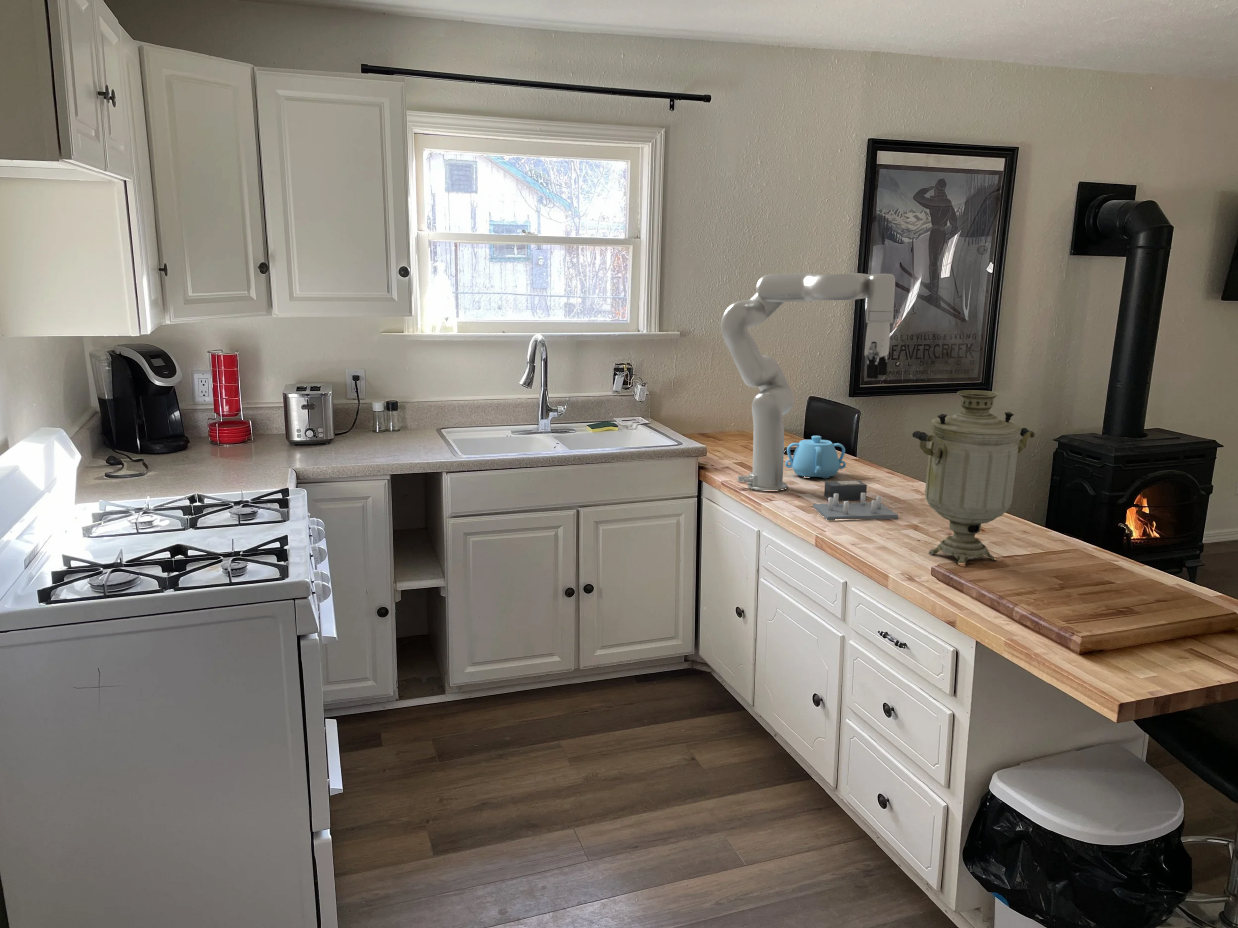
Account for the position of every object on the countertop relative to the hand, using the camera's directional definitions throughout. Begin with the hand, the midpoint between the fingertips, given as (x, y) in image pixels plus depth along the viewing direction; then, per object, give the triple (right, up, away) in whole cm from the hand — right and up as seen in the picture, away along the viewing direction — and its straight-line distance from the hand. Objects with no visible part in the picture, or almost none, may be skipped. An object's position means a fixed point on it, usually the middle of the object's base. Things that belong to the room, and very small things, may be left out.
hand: (876, 376), depth 267 cm
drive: (-7, -36, +10) cm, 38 cm away
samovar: (+8, -48, -44) cm, 65 cm away
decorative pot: (-10, -30, +40) cm, 51 cm away
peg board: (-8, -40, -7) cm, 41 cm away
